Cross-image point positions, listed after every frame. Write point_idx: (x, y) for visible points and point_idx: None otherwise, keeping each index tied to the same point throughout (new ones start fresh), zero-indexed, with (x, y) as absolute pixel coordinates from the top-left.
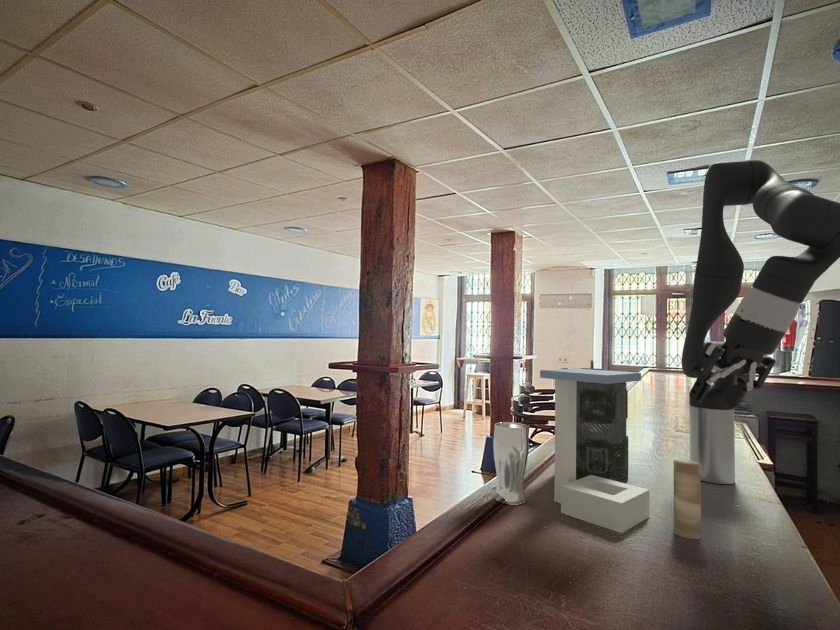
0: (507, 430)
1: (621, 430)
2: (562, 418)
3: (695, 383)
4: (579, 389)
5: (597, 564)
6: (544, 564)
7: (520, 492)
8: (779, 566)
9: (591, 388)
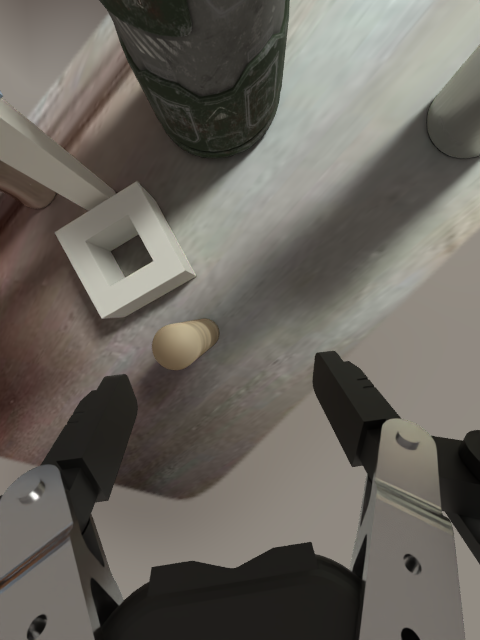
0: None
1: (227, 51)
2: None
3: (57, 446)
4: None
5: (54, 378)
6: (3, 367)
7: (29, 197)
8: (239, 421)
9: None
